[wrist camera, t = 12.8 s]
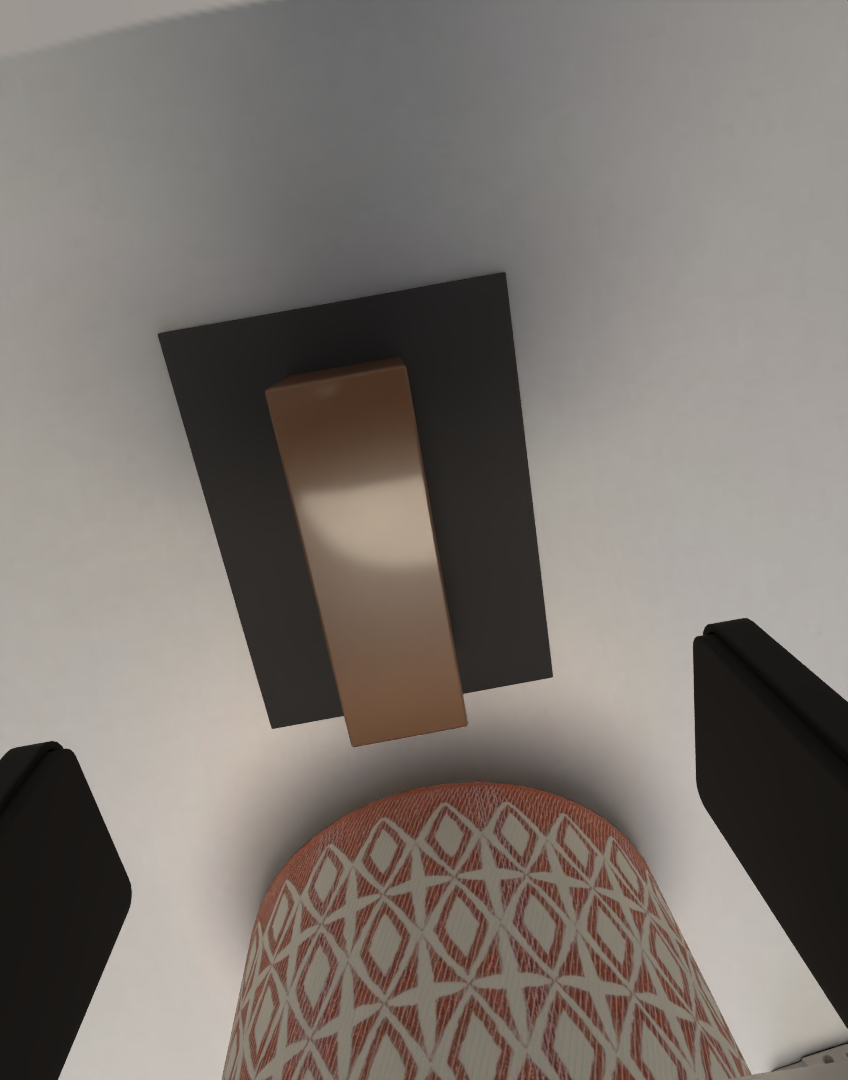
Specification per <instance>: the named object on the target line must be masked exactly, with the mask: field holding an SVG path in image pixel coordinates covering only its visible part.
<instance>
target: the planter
mask: <svg viewBox="0 0 848 1080" xmlns="http://www.w3.org/2000/svg"><path fill="white" fill-rule="evenodd" d="M748 1075H752V1074H751V1072H750V1070H749V1068H748V1066H747V1064H746V1062H745V1060H744V1058H743V1056H742V1054H741V1052H740V1050H739V1048H738V1046H737V1044H736V1042H735V1040H734V1038H733V1036H732V1034H731V1032H730V1030H729V1028H728V1026H727V1024H726V1022H725V1020H724V1018H723V1016H722V1014H721V1012H720V1010H719V1008H718V1006H717V1004H716V1002H715V1000H714V998H713V996H712V994H711V992H710V990H709V988H708V986H707V984H706V982H705V980H704V978H703V976H702V974H701V972H700V970H699V968H698V966H697V964H696V962H695V960H694V958H693V956H692V954H691V952H690V950H689V948H688V946H687V944H686V942H685V940H684V938H683V936H682V934H681V932H680V930H679V928H678V926H677V924H676V922H675V920H674V918H673V916H672V914H671V912H670V910H669V908H668V906H667V903H666V901H665V899H664V897H663V895H662V893H661V891H660V889H659V887H658V885H657V883H656V881H655V879H654V878H653V876H652V874H651V872H650V870H649V868H648V866H647V864H646V862H645V860H644V859H643V857H642V856H641V855H640V854H639V852H638V851H637V850H636V849H635V847H634V846H633V845H632V844H631V842H630V841H629V840H628V839H627V837H625V836H624V835H623V834H622V833H621V832H620V831H618V830H617V829H616V828H615V827H614V826H612V825H611V824H610V823H609V822H608V821H607V820H605V819H604V818H602V817H601V816H599V815H597V814H595V813H594V812H592V811H590V810H589V809H587V808H585V807H583V806H582V805H580V804H578V803H575V802H573V801H570V800H568V799H565V798H563V797H560V796H557V795H555V794H552V793H550V792H546V791H541V790H537V789H532V788H528V787H523V786H519V785H513V784H501V783H489V782H468V783H448V784H441V785H435V786H430V787H424V788H419V789H413V790H409V791H406V792H403V793H399V794H396V795H393V796H390V797H387V798H384V799H381V800H377V801H375V802H373V803H371V804H369V805H367V806H365V807H362V808H360V809H358V810H356V811H354V812H352V813H350V814H348V815H346V816H344V817H342V818H341V819H339V820H338V821H336V822H335V823H333V824H332V825H330V826H329V827H327V828H326V829H324V830H323V831H321V832H320V833H318V834H317V835H316V836H314V837H313V838H312V839H311V840H310V841H309V842H308V843H307V844H306V845H304V846H303V847H302V848H301V849H300V850H299V851H298V852H297V853H296V854H294V855H293V856H292V858H291V859H290V860H289V861H288V863H287V864H286V865H285V866H284V868H283V869H282V870H281V871H280V873H279V874H278V875H277V876H276V878H275V879H274V881H273V883H272V885H271V886H270V888H269V890H268V892H267V894H266V896H265V897H264V899H263V901H262V903H261V905H260V908H259V911H258V915H257V918H256V921H255V924H254V928H253V931H252V935H251V940H250V945H249V950H248V955H247V960H246V965H245V969H244V974H243V979H242V984H241V989H240V994H239V999H238V1003H237V1008H236V1013H235V1018H234V1023H233V1028H232V1032H231V1037H230V1042H229V1047H228V1052H227V1057H226V1062H225V1066H224V1071H223V1076H222V1080H725V1079H730V1078H736V1077H742V1076H748Z"/></svg>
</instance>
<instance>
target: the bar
mask: <svg viewBox="0 0 848 1080" xmlns="http://www.w3.org/2000/svg"><path fill="white" fill-rule="evenodd" d="M265 395H266V399H267V403H268V407H269V411H270V415H271V419H272V423H273V428H274V432H275V436H276V440H277V444H278V448H279V452H280V456H281V460H282V464H283V468H284V472H285V477H286V481H287V485H288V489H289V493H290V497H291V501H292V505H293V509H294V513H295V517H296V521H297V526H298V530H299V534H300V538H301V542H302V546H303V550H304V554H305V558H306V562H307V566H308V570H309V574H310V579H311V583H312V587H313V591H314V595H315V599H316V603H317V607H318V611H319V615H320V619H321V623H322V628H323V632H324V636H325V640H326V644H327V648H328V652H329V656H330V660H331V664H332V668H333V672H334V677H335V681H336V685H337V689H338V693H339V697H340V701H341V705H342V709H343V713H344V717H345V721H346V725H347V730H348V734H349V738H350V742H351V745H352V747H358V746H363V745H368V744H374V743H379V742H385V741H390V740H395V739H401V738H406V737H411V736H417V735H422V734H428V733H433V732H438V731H444V730H449V729H455V728H460V727H465V726H467V724H468V722H467V716H466V710H465V704H464V698H463V693H462V687H461V681H460V675H459V669H458V663H457V658H456V652H455V646H454V640H453V634H452V629H451V623H450V617H449V611H448V605H447V600H446V594H445V588H444V582H443V576H442V570H441V565H440V559H439V553H438V547H437V541H436V536H435V530H434V524H433V518H432V512H431V507H430V501H429V495H428V489H427V483H426V477H425V472H424V466H423V460H422V454H421V448H420V443H419V437H418V431H417V425H416V419H415V414H414V408H413V402H412V396H411V390H410V384H409V379H408V373H407V367H406V366H405V364H404V363H403V361H402V360H401V358H400V357H399V356H396V357H391V358H385V359H380V360H374V361H368V362H363V363H357V364H352V365H346V366H340V367H335V368H329V369H324V370H318V371H313V372H307V373H301V374H296V375H290V376H288V377H287V378H285V379H283V380H282V381H280V382H278V383H277V384H275V385H273V386H272V387H270V388H268V389H267V390H265Z"/></svg>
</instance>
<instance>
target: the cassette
mask: <svg viewBox="0 0 848 1080" xmlns="http://www.w3.org/2000/svg"><path fill="white" fill-rule="evenodd" d="M847 1060H848V1044H845V1045H841V1046H838V1047H835V1048H832V1049H829V1050H826V1051H823V1052H820V1053H816V1054H813V1055H810V1056H807V1057H804V1058H802V1060H801V1062H799V1063H796V1064H793V1065H789V1066H786V1067H783V1068H780V1069H778V1070H776V1071H781V1070H787V1069H794V1068H801V1067H807V1066H814V1065H821V1064H827V1063H834V1062H840V1061H847Z"/></svg>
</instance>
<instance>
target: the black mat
mask: <svg viewBox="0 0 848 1080" xmlns="http://www.w3.org/2000/svg"><path fill="white" fill-rule="evenodd" d="M158 337H159V341H160V344H161V348H162V351H163V355H164V358H165V362H166V365H167V368H168V372H169V375H170V379H171V382H172V386H173V389H174V393H175V396H176V400H177V403H178V406H179V410H180V413H181V417H182V420H183V424H184V427H185V431H186V434H187V438H188V441H189V444H190V448H191V451H192V455H193V458H194V462H195V465H196V469H197V472H198V475H199V479H200V482H201V486H202V489H203V493H204V496H205V500H206V503H207V507H208V510H209V513H210V517H211V520H212V524H213V527H214V531H215V534H216V538H217V541H218V545H219V548H220V551H221V555H222V558H223V562H224V565H225V569H226V572H227V576H228V579H229V582H230V586H231V589H232V593H233V596H234V600H235V603H236V607H237V610H238V614H239V617H240V620H241V624H242V627H243V631H244V634H245V638H246V641H247V645H248V648H249V652H250V655H251V658H252V662H253V665H254V669H255V672H256V676H257V679H258V683H259V686H260V689H261V693H262V696H263V700H264V703H265V707H266V710H267V714H268V717H269V721H270V724H271V727H272V729H275V728H280V727H285V726H291V725H296V724H302V723H307V722H312V721H318V720H323V719H329V718H334V717H340V716H344V713H343V709H342V705H341V701H340V697H339V693H338V689H337V685H336V681H335V677H334V672H333V668H332V664H331V660H330V656H329V652H328V648H327V644H326V640H325V636H324V632H323V628H322V623H321V619H320V615H319V611H318V607H317V603H316V599H315V595H314V591H313V587H312V583H311V579H310V574H309V570H308V566H307V562H306V558H305V554H304V550H303V546H302V542H301V538H300V534H299V530H298V526H297V521H296V517H295V513H294V509H293V505H292V501H291V497H290V493H289V489H288V485H287V481H286V477H285V472H284V468H283V464H282V460H281V456H280V452H279V448H278V444H277V440H276V436H275V432H274V428H273V423H272V419H271V415H270V411H269V407H268V403H267V399H266V395H265V390H267V389H268V388H270V387H272V386H273V385H275V384H277V383H278V382H280V381H282V380H283V379H285V378H287V377H288V376H290V375H296V374H301V373H307V372H313V371H318V370H324V369H329V368H335V367H340V366H346V365H352V364H357V363H363V362H368V361H374V360H380V359H385V358H391V357H396V356H399V357H400V358H401V360H402V361H403V363H404V364H405V366H406V367H407V373H408V379H409V384H410V390H411V396H412V402H413V408H414V414H415V419H416V425H417V431H418V437H419V443H420V448H421V454H422V460H423V466H424V472H425V477H426V483H427V489H428V495H429V501H430V507H431V512H432V518H433V524H434V530H435V536H436V541H437V547H438V553H439V559H440V565H441V570H442V576H443V582H444V588H445V594H446V600H447V605H448V611H449V617H450V623H451V629H452V634H453V640H454V646H455V652H456V658H457V663H458V669H459V675H460V681H461V687H462V693H463V694H464V693H470V692H475V691H481V690H486V689H491V688H497V687H502V686H508V685H513V684H519V683H524V682H529V681H535V680H540V679H546V678H551V677H553V674H552V665H551V657H550V648H549V639H548V631H547V622H546V614H545V605H544V597H543V588H542V580H541V571H540V563H539V554H538V546H537V537H536V528H535V520H534V511H533V503H532V494H531V486H530V477H529V469H528V460H527V452H526V443H525V434H524V426H523V417H522V409H521V400H520V392H519V383H518V375H517V366H516V358H515V349H514V341H513V332H512V323H511V315H510V306H509V298H508V289H507V281H506V273H505V272H504V273H498V274H492V275H487V276H481V277H475V278H470V279H464V280H459V281H453V282H447V283H442V284H436V285H430V286H425V287H419V288H414V289H408V290H402V291H397V292H391V293H385V294H380V295H374V296H368V297H363V298H357V299H352V300H346V301H340V302H335V303H329V304H323V305H318V306H312V307H307V308H301V309H295V310H290V311H284V312H278V313H273V314H267V315H261V316H256V317H250V318H245V319H239V320H233V321H228V322H222V323H216V324H211V325H205V326H200V327H194V328H188V329H183V330H177V331H171V332H166V333H160V334H158Z"/></svg>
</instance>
